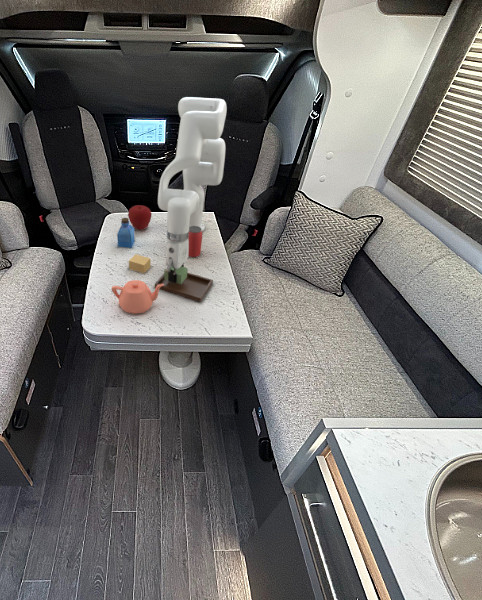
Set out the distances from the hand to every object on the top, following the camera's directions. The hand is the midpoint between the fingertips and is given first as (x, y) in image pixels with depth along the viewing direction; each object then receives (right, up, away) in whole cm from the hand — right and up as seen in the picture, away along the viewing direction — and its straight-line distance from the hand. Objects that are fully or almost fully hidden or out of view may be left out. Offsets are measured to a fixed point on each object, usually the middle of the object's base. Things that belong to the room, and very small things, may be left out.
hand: (175, 277), depth 129 cm
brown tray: (+3, -3, +1) cm, 5 cm away
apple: (-16, +26, +37) cm, 48 cm away
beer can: (+8, +11, +19) cm, 23 cm away
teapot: (-14, -10, -8) cm, 19 cm away
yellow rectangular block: (-14, +4, +10) cm, 18 cm away
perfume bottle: (-21, +17, +25) cm, 37 cm away
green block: (0, 0, 0) cm, 1 cm away
